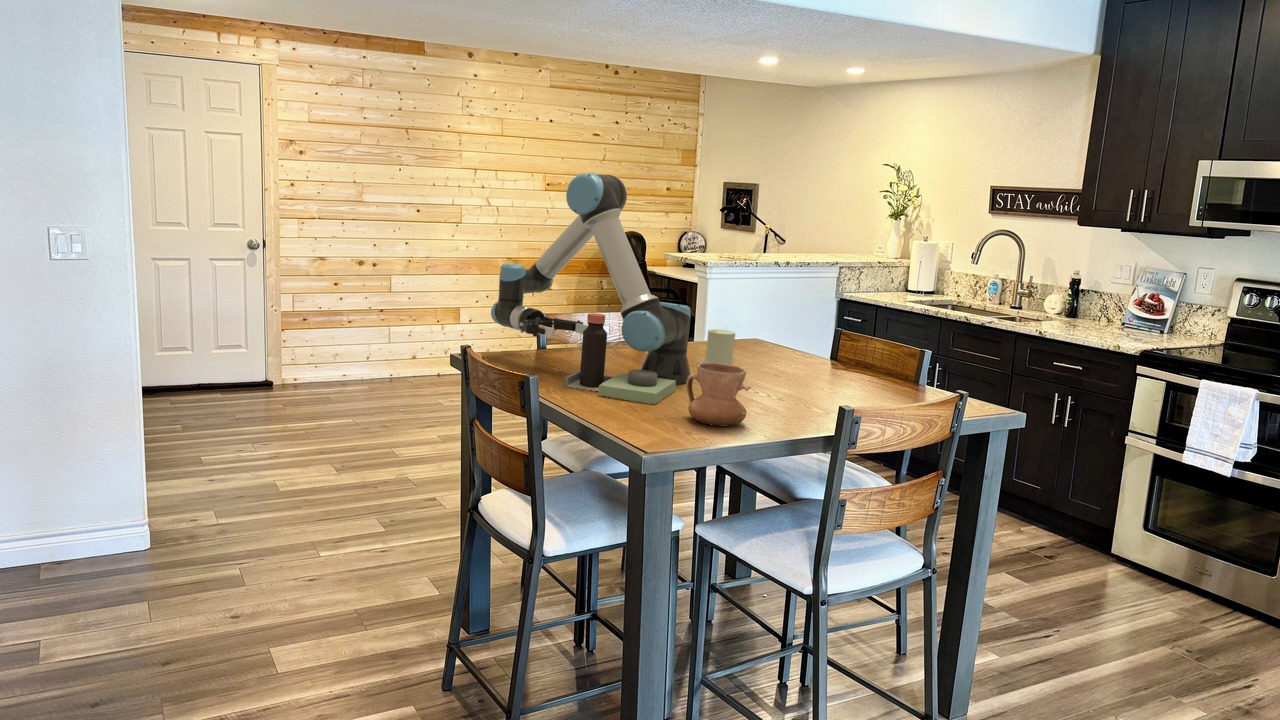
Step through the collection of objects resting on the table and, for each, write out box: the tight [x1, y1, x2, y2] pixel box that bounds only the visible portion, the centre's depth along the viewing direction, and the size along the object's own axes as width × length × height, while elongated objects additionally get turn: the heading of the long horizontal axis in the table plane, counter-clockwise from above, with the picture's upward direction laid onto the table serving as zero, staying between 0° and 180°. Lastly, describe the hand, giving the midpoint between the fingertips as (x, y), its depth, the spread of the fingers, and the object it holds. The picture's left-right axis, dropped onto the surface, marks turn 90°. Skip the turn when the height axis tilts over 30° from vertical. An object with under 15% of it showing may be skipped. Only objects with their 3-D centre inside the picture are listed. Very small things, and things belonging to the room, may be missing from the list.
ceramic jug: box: [685, 362, 752, 426], centre depth 231 cm, size 18×14×14 cm
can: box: [704, 328, 736, 366], centre depth 306 cm, size 9×9×12 cm
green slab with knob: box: [563, 369, 677, 405], centre depth 257 cm, size 20×28×6 cm
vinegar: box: [579, 312, 608, 387], centre depth 258 cm, size 7×7×20 cm
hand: (572, 332), depth 263 cm, fingers open, 13 cm apart
